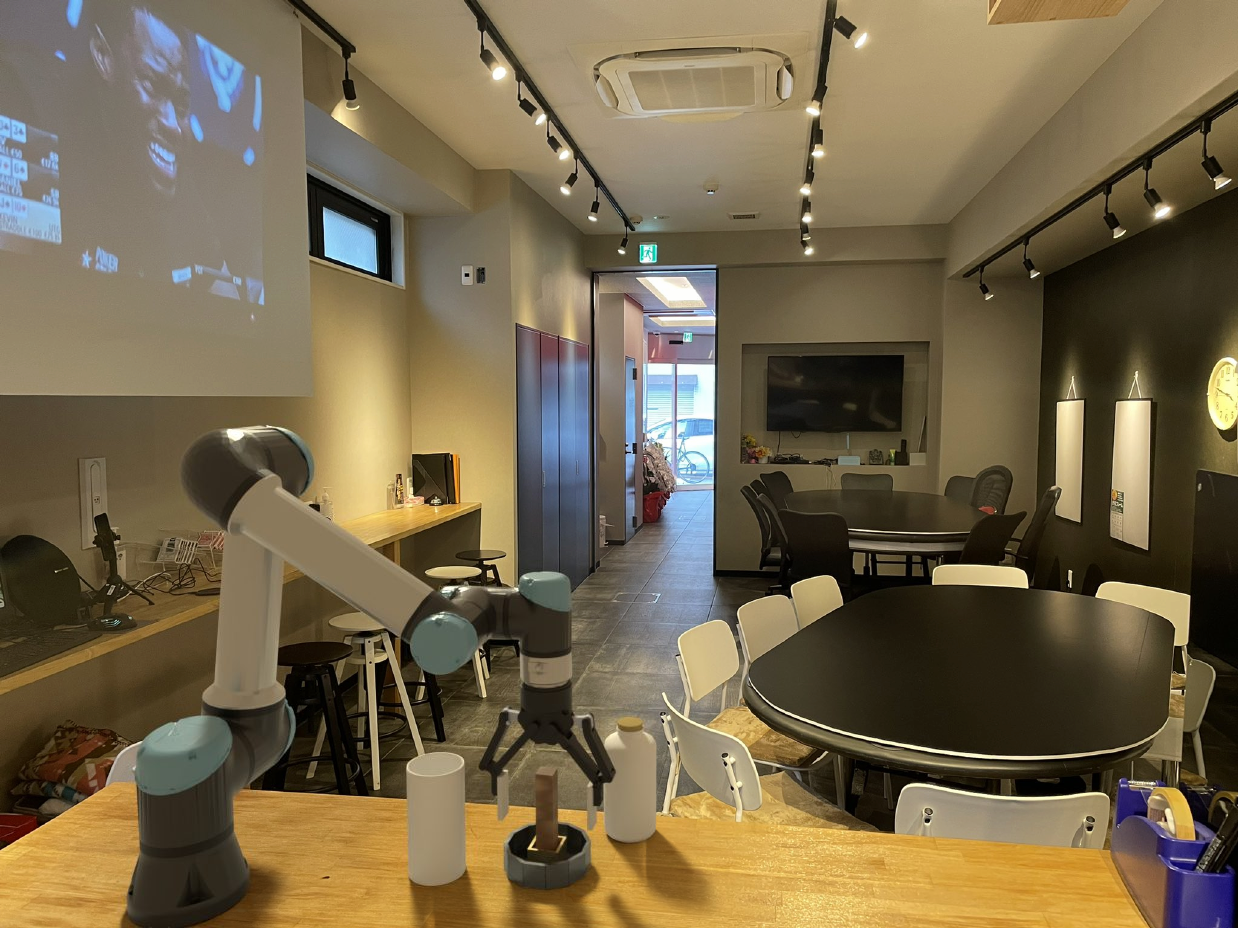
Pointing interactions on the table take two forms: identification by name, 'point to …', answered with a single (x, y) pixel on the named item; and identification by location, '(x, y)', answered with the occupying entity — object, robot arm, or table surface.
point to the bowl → (547, 857)
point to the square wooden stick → (546, 808)
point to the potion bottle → (631, 783)
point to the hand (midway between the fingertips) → (547, 821)
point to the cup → (436, 818)
